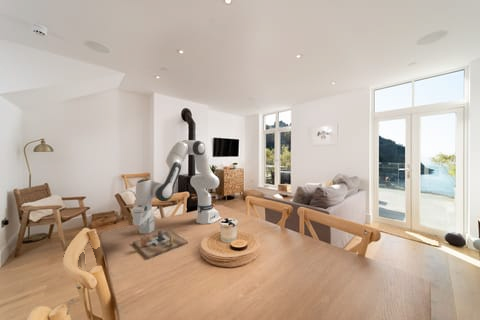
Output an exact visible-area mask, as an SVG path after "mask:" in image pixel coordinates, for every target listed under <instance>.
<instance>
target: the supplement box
mask: <svg viewBox="0 0 480 320" xmlns="http://www.w3.org/2000/svg"><path fill="white" fill-rule="evenodd" d="M138 227H139V228H138V229H139V230H138V231H139V233H138V234H144V235H145V234H147V235H149V234H150V233H152V232H153V231H154V230H155V213H153V212H152V215H151V216H150V217H149V218H148V219H147V222H146V227H145V228H144V229H141V225H140V226H138Z"/></svg>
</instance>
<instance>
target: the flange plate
mask: <svg viewBox="0 0 480 320" xmlns="http://www.w3.org/2000/svg"><path fill="white" fill-rule="evenodd" d="M147 237H148V236H147V235H145V234H144V235H142V236H141V235H140V239H141V246H146V247H147V246H150V245H153V244H155V245H156V246H158V245H161V244H163V243H166V242H169V241H170V238H168V237H167V236H165V235H163V239H164V240H162V241H159V242H158V241H157V240H158V237H156V238H153V239H150V241H151V242H148V243H147Z"/></svg>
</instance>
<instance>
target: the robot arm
mask: <svg viewBox="0 0 480 320" xmlns="http://www.w3.org/2000/svg"><path fill="white" fill-rule="evenodd" d="M207 150H208V149H207V148H206V145H205V143H204V142H203V141H200V140H195V139H194V140H193V139H192V140H191V139H190V140H187V139H186V140H182V141H177V142H176V143H175V144H174V146H172V148H171V149H170V151H169V152H168V154H167V156H166V159H165V160H166V161H165V162H166V165H167V166H168V168H169V171H168V173H167V175H166V178H165V181H164V182H163V183H161V182H156V181H154V180H153V179H151V178H143V179H140V180H138V181H137V182H136V184H135V196H136V197H135V202H134V206H133V207H132V209H131V212H132V225H133V226H134V227H139V226H140V225H141V229H144V228H145V227H146V222H147V219H148V218H149V217H150V216H151V215H152V213H153V207H152V205H153V204H152V202H153V200H152V199H156V200H159V201H160V202H167V201H169V200H170V199H172V198H173V195H174V189H175V185H176V183H177V180H178V178H179V175H180V174H181V170H182V166H183V163H184V161H185V160H186V158H187V155H190V156H191V155H192V156H193V157H194V163H195V169H196V171H197V172H198V173H200V174H196V175H192V176H191V177H190V185H191V187H192V188H194V190H195V192H196V194H197V205H196V206H197V210H196V211H197V215H196V219H195V222H196V223H197V224H201V225H202V224H203V225H204V224H205V225H206V224H208V225H211V224H214V223H216V222H217V221H220V220H222V219H221V218H222V216H220V213H219V211H218V210H217V209H216V208H215V206H216V204H214V203H212V195H211V193H210V192H208V190H207V189H211V190H213V189H217V188H218V187H219V186H220V179H219V177H218V176H217V175H215V173H214V172H213V171H212V169H211V165H210V160H209V154H208V151H207ZM219 219H220V220H219Z"/></svg>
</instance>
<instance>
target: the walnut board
mask: <svg viewBox="0 0 480 320" xmlns="http://www.w3.org/2000/svg"><path fill="white" fill-rule="evenodd" d="M163 235H165V236H167V237H168V238H170V241H169V242H166V243H163V244H161V245H158V246H156V245H155V244H153V245H150V246H147V247H146V246H141V238H140V239H136V240H134V241H132V244H133V245H134V247H135V248H136V249H137V250H138V251H139V252H140V253H141V254H142V255H143V256H144V257H145V258H146V259H147V260H150V259H153V258H155V257H158V256H160V255H162V254H165V253H168V252H170V251H172V250H175V249H177V248H180V247H183V246H185V245H188V244H189V241H188V240H187V239H185V238H184V237H182V236H180V235H178V234H177V233H175V232H174V231H172V230H169V229H168V230H167V231H163V230H159V231H158V232H157V234H153V235H149V236H146V237H147V243H148V242H151V241H150V239H153V238H156V237H158V240H157V241H158V242H159V241H162V240H164V239H163Z"/></svg>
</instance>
